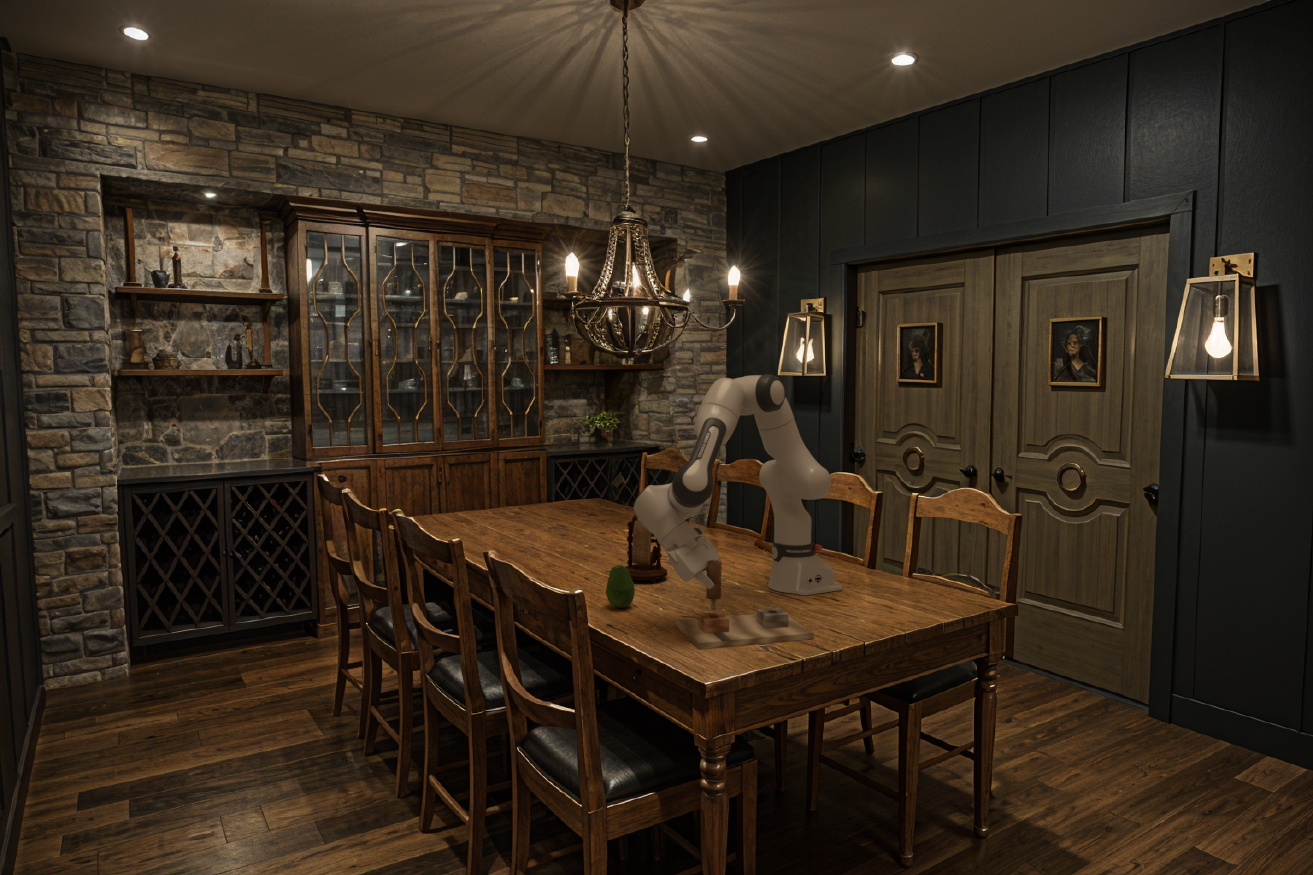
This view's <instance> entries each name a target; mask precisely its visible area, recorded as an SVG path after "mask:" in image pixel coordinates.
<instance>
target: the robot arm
mask: <svg viewBox="0 0 1313 875" xmlns="http://www.w3.org/2000/svg"><path fill="white" fill-rule="evenodd" d="M752 415H754V420H755V423H756V426H757V429H758V432H759V436H760V438H761V441H762V445H763V448H764V450H765V452H766V454H768V455H769V456H770V457H771V458H773V459H772V460H768V461H766V462H764V464H762V465H761V468H760V471H759V473H758V474H759V476H758V478H759V483H760V485H761V486H762V488H763V489H764V490H765V491H766V493H767V495H768V499H769V501H770V504H771V506H772V510H773V511H772V513H773V518H774V519H773V520H774V521H773V523H774V524H773V527H774V528H773V529H774V534H773V536H774V537H773V538H774V539H773V541H772V547H773V548H772V554H771V555H772V566H771V572H770V577H769V580H768V582H767V583H768V584H767V587H768V588H769V589H770V590H773V591H777V592H780V593H781V592H782V593H786V594H788V593H789V594H794V595H795V594H796V595H801V596H808V595H809V596H811V595H816V594H824V593H830V592H838V591H842V590H843V586H842V584H841V583H840V582H838V581H836V580H835V573H834V570H833V568H832V567H831V565H830V564H828V563H827V562H826V561H825V560H823V559H822V558H821V557H820V556H818V554H817V553H816V552H819V553H820V552H822V551H823V546H822V545H820V544H818V543H817V544H815V543H814V542H812V517H811V515H810V513H809V512H808V511H807V509H805V507H804V505H803V502H802V500H807V501H810V500H812V501H814V500H821V499H823V498H824V497H825V496H827V494H828V493H829V492H830V489H831V485H832V478H831V474H830V473H829V471H828V470H827V469H826V468H825V467H823V466H822V464H820V463H819V462H818V461H817V459H815V458H814V456H813V455H812V454H811V452H810V450H809V449H808V448H807V447H806V445H805V443H804V440H803V439H802V437H801V434H800V432H799V431H800V430H799V428H798V426H797V423H796V421H795V420H796V419H795V416H794V414H793V411H792V407H791V405H790V404H789V401H788V399H787V397H786V387H785V385H784V383H783V381H782V380H781V379H780V378H779V376H777V375H773V374H768V373H767V374H763V375H762V374H760V375H759V374H758V375H757V374H754V375H753V374H752V375H745V376H742V377H741V376H740V377H736V378H729V377H721V378H718V379H716V380H714V382H713V383H712V385H711V386H710V388H709V389H708V391H707V392H706V394H705V396H704V398H703V400H702V402H701V404H700V406H699V408H698V411H697V414H696V416H695V420H694V424H693V425H694V426H693V431H694V434H695V436H696V437H697V438H696V441H695V444H694V446H693V449H692V450H691V451H692V452H691V454H690V456H689V459H688V460H687V462H686V463H685V464H684V465H682V466H681V467H680V468H679V469H678V470H677V471H676V473H674V475H673V478H672V481H671V482H670V483H668V484H659V485H658V484H657V485H654V484H653V485H652V484H650V485H647V486H646V487H645V488H644V489H643V490H641V491H640V493H638V495H637V497H636V498H635V499H634V502H633V510H634V513H635V514H636V517H637V518H638V520H639V521H641V522H642V523H643V524H644V526H645V527H646V528H647V529H648V531H649V532H651V533H652V534H653V535H654V537H655V539H656V538H657V540H658V543H659V544H660V545H661V546H660V547H661V549H663V550H664V552H666V554H667V556H668V561H669V564H670V566H671V567H672V568H673V570H674V571H675V574H677V575H678V577H679V578H680V579H681V580H682V581H683V582H686V583H687V582H689V581H691V580H692V579H694V578H696V579H697V581H699V582H700V583H702V584H703V585H704V586H706V589H707V588H708V589H711V588H712V587H714V586H715V582H714V581H713V580H712V579H710V578H709V577H708V576H707V561H710V560H718V561H720V559H721V557H720V554H719V552H718V551H717V549H716V548H715V547H714V546H713V544H712V543H711V541H710V540H709V539H708V538H707V537H706V536H704V534H705V533H704V531H703V530H702V529H701V528H700V527H696V526H693V525H690V524H689V523H688V522H687V521H686V520H688V519H690V518H692V517H694V516H695V515H697V514H698V513H699V512H700V511H701V509H702V508H703V506H704V504H705V502H706V501H707V500H708V499H709V498H710V497H711V495H712V493H713V489H714V479H713V468H714V466H715V463H716V460H717V458H718V454H719V452H720V449H721V447H722V446H723V445H725V444H727V442H728V440H730V438H731V436H732V435H733V433H734V431H735V429H736V427H737V424H738V422H739V419H740V416H752ZM722 581H723V578H722V577H721V582H722Z"/></svg>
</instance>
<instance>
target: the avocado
mask: <svg viewBox="0 0 1313 875" xmlns="http://www.w3.org/2000/svg"><path fill="white" fill-rule="evenodd" d="M608 575H609V576H608V579H607V583H606V588H605V589H606V590H605V594H606V599H607V600H608V602H609V604H610V605H611V606H613V607H615V608H619V609H625V608H627V607H629V606H630V605H631V604H632V603H633V601H634V597H635V594H636V591H635V583H634V580H633V579H632V578H631V576H630V574H629V571H628V570H627V568H626V566H624V565H623V564H617V565H615V566H613V567H612V568H611V569H610V572H609V574H608Z"/></svg>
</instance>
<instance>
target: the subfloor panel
mask: <svg viewBox="0 0 1313 875" xmlns="http://www.w3.org/2000/svg"><path fill="white" fill-rule="evenodd" d="M675 627H676V628H677V629H678V630H679V631H680V632H681V634H683V635H684V637H686V638H687V639H688V640H689V641H690V643H692V644H693V645H694V646H695V647H696V649H698V650H705V649H706V650H707V649H717V648H729V647H738V646H739V647H741V646H750V645H759V644H772V643H784V642H795V641H805V640H814V638H815V636H814V635H815V634H814V632H813V631H812V630H810V629H808V627H807V628H806V627H805V626H804V625H802V624H801V623H799V622H797V621H796V620H795V619H793V618H792V617H790V616H789V613H787V612H786V611H785V610H783V609H781V608H780V607H771V608H770V607H769V608H757V609H756V613H754V614H753V613H752V614H751V613H750V614H742V615H741V614H740V615H739V614H737V615H727V616H726V615H725V614H723V613H722V611H718V612H706V613H705V612H703V613H698V614H697V618H689V619H676V620H675Z"/></svg>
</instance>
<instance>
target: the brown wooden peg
mask: <svg viewBox="0 0 1313 875" xmlns="http://www.w3.org/2000/svg"><path fill="white" fill-rule="evenodd" d="M722 566H723V562H722V561H720V560H710V561H707V572H706V576H708V577H709V578H710V579H712V580H713V581H714V582H715V586H714V587H712V588H711V589H708V588H707V587H706V595H705V596H706V599H709V600H711V606H710V608H711V610H712V611H715V610H716V601H717V600H720V599H721V598H722V581H721V578H722V572H723V571H722V570H723V569H722Z"/></svg>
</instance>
